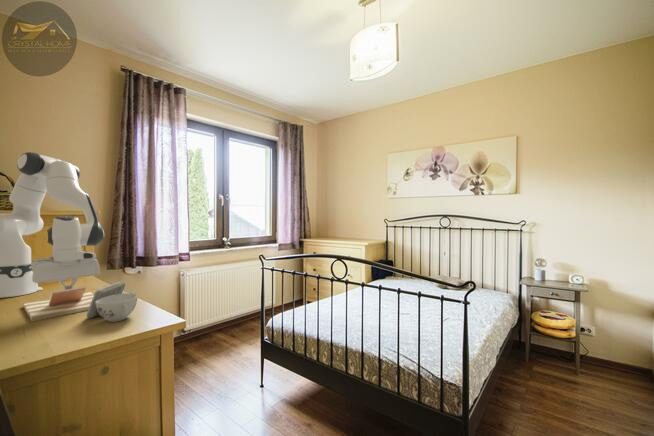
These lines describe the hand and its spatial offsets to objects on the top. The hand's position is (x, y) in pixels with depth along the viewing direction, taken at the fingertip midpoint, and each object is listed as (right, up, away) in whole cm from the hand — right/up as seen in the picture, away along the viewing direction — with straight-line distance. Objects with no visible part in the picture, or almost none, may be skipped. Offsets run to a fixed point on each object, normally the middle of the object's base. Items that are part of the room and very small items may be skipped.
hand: (68, 290), depth 116 cm
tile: (-2, -2, +2) cm, 3 cm away
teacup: (+28, -8, -11) cm, 32 cm away
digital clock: (+18, -8, -3) cm, 20 cm away
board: (-5, -8, +4) cm, 10 cm away
